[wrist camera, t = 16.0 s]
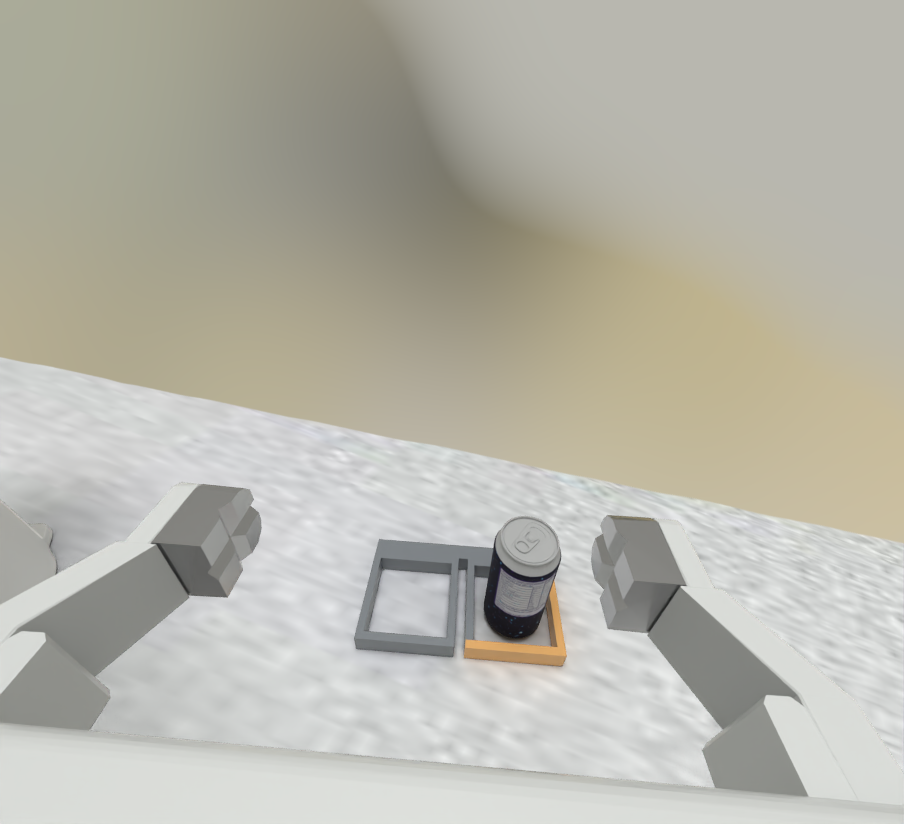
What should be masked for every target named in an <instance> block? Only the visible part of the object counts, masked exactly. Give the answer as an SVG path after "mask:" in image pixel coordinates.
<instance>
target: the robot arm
mask: <svg viewBox="0 0 904 824" xmlns="http://www.w3.org/2000/svg"><path fill="white" fill-rule="evenodd" d="M253 500H254V498H253V496H252V494H251V491H250V489H245V488H235V487H226V486H216V485H206V484H193V483H183V482H181V483H179V484H177V485H175V486H173V487H172V488H171V489H170V491H169V492H168V493H167V494H166V495H165V496H164V497H163V498H162V500H161V501H160V502H159V503H158V504H157V505H156V506H155V507H154V509H153V510H152V511H151V512H150V513H149V514H148V515H147V516H146V518H145V519H144V520H143V521H142V522H141V523H140V524H139V525H138V527H137V528H136V529H135V530H134V531H133V532H132V533H131V534H130V536H129V537H128V538H127V539H126V540H125V541H116V542H115V543H113V544H111V545H109V546H107V547H105V548H104V549H102V550H100V551H98V552H96V553H94V554H93V555H91V556H89V557H87V558H85V559H83V560H82V561H80V562H78V563H76V564H74V565H72V566H71V567H69V568H67V569H65V570H63V571H61V572H60V573H58V574H56V567H57V566H56V560H55V557H54V555H53V554H52V552H51V550H50V547H49V545H50V542H51V539H52V535H53V531H52V529H51V528H50V527H49V526H47V525H46V524H43V523H38V524H27V523H26V522H25V521H24V520H23V519H22V518H21V517H20V516H18V515H17V514H16V513H15V512H14V511H13V510H12V509H11V508H9V507H8V506H7V505H6V504H5V503H4V502H3V501H2V500H0V824H904V772H903V771H902V769H901V768H900V766H899V765H898V763H897V762H896V760H895V759H894V757H893V756H892V754H891V753H890V751H889V750H888V748H887V747H886V745H885V744H884V742H883V741H882V739H881V738H880V736H879V735H878V733H877V732H876V730H875V729H874V727H873V726H872V724H871V723H870V721H869V720H868V718H867V717H866V715H865V714H864V712H863V711H862V709H861V708H860V706H859V705H858V703H857V702H856V700H855V699H853V698H852V697H851V696H850V695H849V694H847V693H846V692H845V691H844V690H843V689H841V688H840V687H839V686H838V685H837V684H835V683H834V682H833V681H832V680H831V679H829V678H828V677H827V676H826V675H825V674H823V673H822V672H821V671H820V670H819V669H817V668H816V667H815V666H814V665H813V664H811V663H810V662H809V661H808V660H807V659H805V658H804V657H803V656H802V655H801V654H799V653H798V652H797V651H796V650H795V649H793V648H792V647H791V646H790V645H789V644H787V643H786V642H785V641H784V640H783V639H781V638H780V637H779V636H778V635H777V634H775V633H774V632H773V631H772V630H771V629H769V628H768V627H767V626H766V625H765V624H763V623H762V622H761V621H760V620H759V619H757V618H756V617H755V616H754V615H753V614H751V613H750V612H749V611H748V610H747V609H745V608H744V607H743V606H742V605H741V604H740V603H738V602H737V601H736V600H735V599H734V598H732V597H731V596H730V595H729V594H728V593H726V592H725V591H724V590H723V589H715V587H714V585H713V584H712V582H711V580H710V578H709V576H708V574H707V572H706V570H705V568H704V567H703V565H702V563H701V561H700V559H699V557H698V555H697V553H696V551H695V549H694V548H693V546H692V544H691V542H690V540H689V538H688V536H687V534H686V532H685V531H684V529H683V527H682V525H681V524H680V523H679V522H678V521H677V520H668V519H654V518H653V519H651V518H644V517H628V516H612V515H607V516H606V517H605V518H604V519H603V521H602V523H601V529H602V533H603V534H602V535H600V536H599V537H597V538H595V541H594V544H593V547H592V557H591V561H592V570H593V574H594V578H595V580H596V581H597V583H598V584H599V585H600V586H601V587H602V588H603V589H604V591H603V593H602V595H601V597H600V601H601V605H602V609H603V613H604V616H605V620H606V624H607V628H608V629H613V630H622V631H631V632H640V633H649V634H648V637H649V638H650V639H651V640H652V642H653V643H654V644H655V645H656V647H657V648H658V649H659V650H660V652H661V653H662V654H663V655H664V657H665V658H666V659H667V660H668V662H669V663H670V664H671V666H672V667H673V668H674V669H675V671H676V672H677V673H678V674H679V676H680V677H681V678H682V679H683V681H684V682H685V683H686V684H687V686H688V687H689V688H690V689H691V691H692V692H693V693H694V694H695V696H696V697H697V698H698V699H699V701H700V702H701V703H702V704H703V706H704V707H705V708H706V709H707V711H708V712H709V713H710V714H711V716H712V717H713V718H714V719H715V721H716V722H717V723H718V724H719V726H720V727H721V728H722V729H723V730H722V731H721V732H720V733H718V734H717V735H716V736H715V737H713V738H712V739H711V740H710V741H708V742H707V743H706V745H705V747H704V748H703V750H702V751H703V754H704V757H705V760H706V763H707V765H708V768H709V771H710V774H711V777H712V780H713V783H714V785H715V788H710V787H699V786H688V785H678V784H667V783H656V782H645V781H634V780H623V779H612V778H601V777H590V776H579V775H568V774H557V773H547V772H536V771H525V770H514V769H503V768H492V767H481V766H470V765H459V764H448V763H437V762H426V761H416V760H405V759H394V758H383V757H372V756H361V755H350V754H339V753H328V752H317V751H306V750H296V749H285V748H274V747H263V746H252V745H241V744H230V743H219V742H208V741H197V740H187V739H176V738H165V737H154V736H143V735H132V734H121V733H110V732H99V731H89V730H90V729H91V727H92V726H93V724H94V723H95V721H96V719H97V718H98V716H99V715H100V713H101V712H102V710H103V709H104V707H105V706H106V704H107V702H108V701H109V699H110V690H109V689H108V688H106V687H105V686H104V685H103V684H102V683H101V682H100V681H99V680H97V679H96V678H95V676H96V675H97V674H98V673H100V672H101V671H102V670H103V669H104V668H106V667H107V666H108V665H109V664H110V663H112V662H113V661H114V660H115V659H116V658H118V657H119V656H120V655H121V654H122V653H124V652H125V651H126V650H127V649H128V648H130V647H131V646H132V645H133V644H134V643H136V642H137V641H138V640H139V639H140V638H142V637H143V636H144V635H145V634H146V633H148V632H149V631H150V630H151V629H152V628H154V627H155V626H156V625H157V624H158V623H160V622H161V621H162V620H163V619H164V618H166V617H167V616H168V615H169V614H170V613H172V612H173V611H174V610H175V609H176V608H178V607H179V606H180V605H181V604H182V603H184V602H185V601H186V600H187V599H188V598H189V596H188V595H191V596H209V597H228V596H229V594H230V592H231V591H232V589H233V587H234V585H235V583H236V582H237V580H238V578H239V576H240V574H241V573H242V571H243V568H242V563H241V560H243V559H244V558H246V557H247V556H248V555H250V554H251V553H253V551H254V549H255V547H256V545H257V543H258V541H259V537H260V533H261V518H260V515H259V512H257V511H256V510H255V509H254V508H252V507H251V506H250V505H251V503H252V502H253ZM55 574H56V575H55Z"/></svg>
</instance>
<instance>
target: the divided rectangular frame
mask: <svg viewBox="0 0 904 824" xmlns="http://www.w3.org/2000/svg"><path fill="white" fill-rule="evenodd" d="M492 553H493V548H484V547H471V546H458V545H445V544H433V543H420V542H407V541H395V540H382V539H379V542H378V546H377V549H376V553H375V557H374V561H373V565H372V569H371V573H370V577H369V581H368V585H367V589H366V593H365V597H364V601H363V605H362V609H361V613H360V617H359V621H358V625H357V629H356V633H355V637H354V640H355V645H356V649H365V650H377V651H389V652H401V653H412V654H424V655H436V656H447V657H453V653H454V640H455V620H456V601H457V582H458V569H463V570H467V579H466V610H465V640H464V658H471V659H482V660H494V661H506V662H518V663H529V664H541V665H553V666H562V665H563V663H564V661H565V659H566V657H567V655H566V649H565V643H564V637H563V631H562V625H561V619H560V613H559V607H558V601H557V595H556V588H555V582H553V585H552V588H551V591H550V594H549V597H548V600H547V603H546V609H547V616H548V623H549V630H550V638H551V645H552V647H549V646H537V645H525V644H513V643H501V642H489V641H478V640H473V625H474V576H478V577H489V571H490V565H491V559H492ZM382 569H391V570H404V571H416V572H428V573H441V574H451V583H450V598H449V613H448V627H447V638H442V637H430V636H418V635H406V634H395V633H383V632H371V631H368V629H369V624H370V620H371V615H372V611H373V607H374V602H375V598H376V593H377V589H378V585H379V580H380V576H381V572H382Z"/></svg>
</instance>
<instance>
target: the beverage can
mask: <svg viewBox="0 0 904 824" xmlns="http://www.w3.org/2000/svg"><path fill="white" fill-rule="evenodd" d="M560 561H561V550H560V547H559V540H558V537H557V535H556V533H555V531H554V530H553V529H552V528H551V527H550V526H549V525H548V524H547V523H545V522H544V521H542V520H540V519H537V518H534V517H530V516H519V517H515V518H512V519H510V520H509V521H507V522H506V523H505V525H504V526H503V528H502V529H501V530H500V531H499V532H498V534H497V535H496V538H495V542H494V548H493V553H492V559H491V565H490V571H489V577H488V583H487V589H486V595H485V601H484V612H485V615H486V618H487V620H488V622H489V623H490V625H491V626H492V627H493V628H494V629H495V630H496V631H497V632H499V633H500V634H502V635H504V636H506V637H510V638H523V637H526V636H529V635H530V634H532V633H533V632H534V631H535V630H536V629H537V627H538V625H539V623H540V620H541V617H542V614H543V611H544V608H545V605H546V603H547V600H548V597H549V594H550V591H551V588H552V585H553V582H554V579H555V576H556V573H557V570H558V567H559V564H560Z"/></svg>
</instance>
